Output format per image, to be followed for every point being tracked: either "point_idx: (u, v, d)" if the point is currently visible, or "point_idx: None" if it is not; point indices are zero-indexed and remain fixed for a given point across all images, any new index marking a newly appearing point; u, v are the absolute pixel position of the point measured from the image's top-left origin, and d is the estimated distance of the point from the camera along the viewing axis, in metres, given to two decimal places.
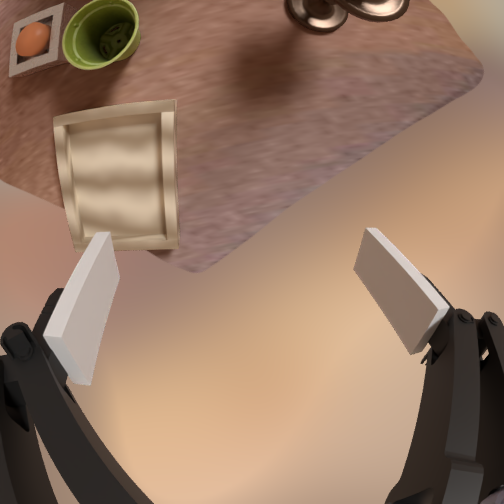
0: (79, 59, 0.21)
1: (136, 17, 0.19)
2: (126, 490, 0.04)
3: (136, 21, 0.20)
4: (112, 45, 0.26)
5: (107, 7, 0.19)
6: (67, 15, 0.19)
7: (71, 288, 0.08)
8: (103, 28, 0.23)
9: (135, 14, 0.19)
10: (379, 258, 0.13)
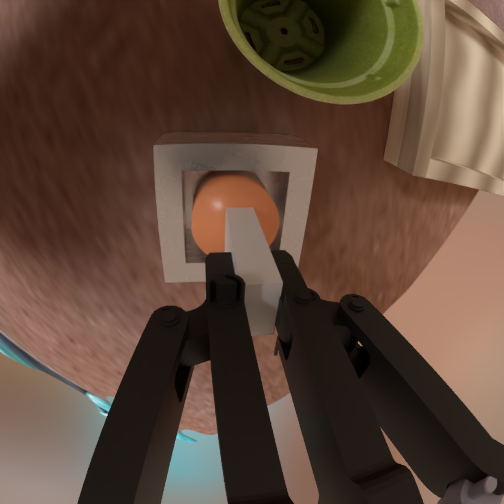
0: (372, 74, 0.11)
1: None
2: (277, 455, 0.05)
3: None
4: (289, 44, 0.15)
5: None
6: (187, 139, 0.15)
7: (241, 248, 0.11)
8: None
9: None
10: None
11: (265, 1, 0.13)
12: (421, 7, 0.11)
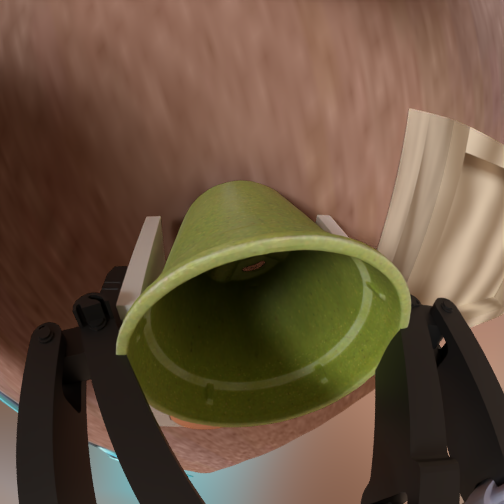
0: (321, 368, 0.11)
1: (256, 250, 0.06)
2: (181, 471, 0.04)
3: (282, 247, 0.06)
4: None
5: (153, 327, 0.09)
6: None
7: (136, 263, 0.10)
8: (196, 282, 0.15)
9: (234, 257, 0.06)
10: None
11: None
12: (429, 172, 0.13)
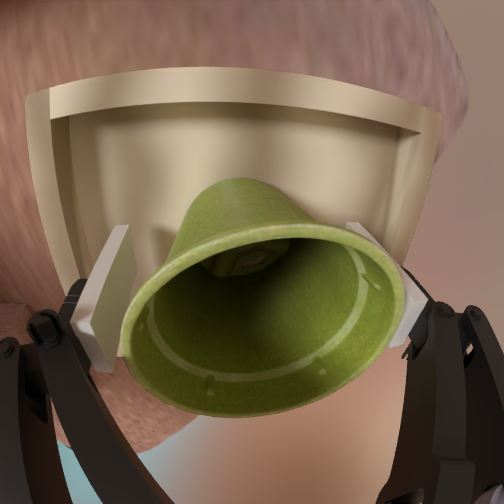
0: (319, 359, 0.12)
1: (254, 237, 0.06)
2: (146, 482, 0.04)
3: (278, 234, 0.06)
4: (246, 246, 0.16)
5: (155, 317, 0.09)
6: None
7: (96, 277, 0.09)
8: (197, 276, 0.15)
9: (234, 244, 0.06)
10: None
11: None
12: None
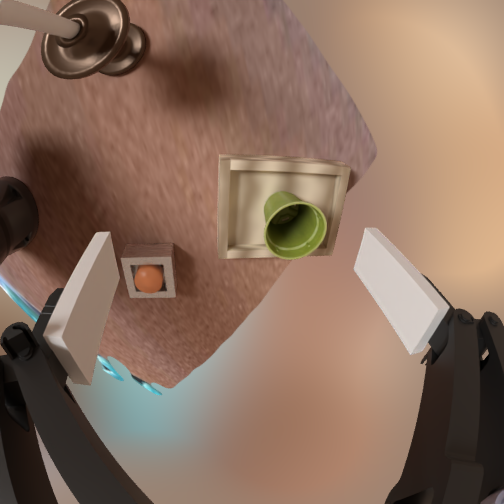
0: (308, 243, 0.43)
1: (294, 203, 0.37)
2: (126, 490, 0.04)
3: (298, 203, 0.37)
4: (283, 213, 0.47)
5: None
6: (131, 252, 0.46)
7: (71, 288, 0.08)
8: None
9: (291, 204, 0.37)
10: (379, 258, 0.13)
11: None
12: (219, 179, 0.42)
